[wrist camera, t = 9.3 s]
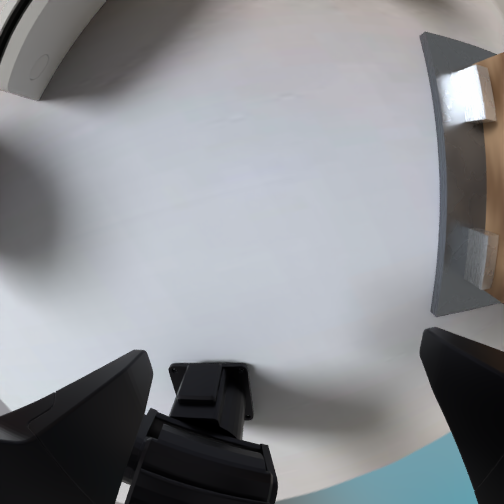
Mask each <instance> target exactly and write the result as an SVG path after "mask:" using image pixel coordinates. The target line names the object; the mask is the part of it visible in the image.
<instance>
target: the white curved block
mask: <svg viewBox="0 0 504 504" xmlns="http://www.w3.org/2000/svg"><path fill="white" fill-rule="evenodd" d="M106 1H107V0H8V1H7V3H6V4H5V6H4V8H3V9H2V11H1V13H0V90H1V91H5V92H8V93H11V94H15V95H18V96H21V97H25V98H28V99H32V100H36V101H39V99H40V98H41V96H42V94H43V92H44V90H45V88H46V87H47V85H48V83H49V81H50V80H51V78H52V76H53V74H54V73H55V71H56V69H57V68H58V66H59V65H60V63H61V61H62V60H63V58H64V57H65V55H66V54H67V52H68V51H69V49H70V48H71V46H72V45H73V43H74V42H75V41H76V39H77V38H78V36H79V35H80V34H81V32H82V31H83V30H84V28H85V27H86V26H87V24H88V23H89V22H90V20H91V19H92V18H93V17H94V15H95V14H96V13H97V12H98V10H99V9H100V8H101V7H102V6H103V4H104V3H105V2H106Z"/></svg>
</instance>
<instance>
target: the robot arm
mask: <svg viewBox="0 0 504 504" xmlns="http://www.w3.org/2000/svg"><path fill="white" fill-rule="evenodd" d="M420 358H421V360H422V363H423V366H424V368H425V371H426V374H427V376H428V379H429V382H430V385H431V388H432V390H433V393H434V395H435V397H436V399H437V401H438V403H439V406H440V408H441V410H442V412H443V414H444V416H445V419H446V421H447V423H448V425H449V428H450V430H451V432H452V434H453V437H454V439H455V442H456V444H457V446H458V449H459V452H460V454H461V457H462V459H463V462H464V464H465V467H466V469H467V472H468V475H469V477H470V480H471V483H472V486H473V489H474V490H475V491H474V492H475V495H476V498H477V501H478V504H504V352H503V351H500V350H497V349H495V348H492V347H489V346H486V345H484V344H481V343H478V342H475V341H473V340H470V339H467V338H465V337H462V336H459V335H456V334H454V333H451V332H448V331H445V330H443V329H440V328H437V327H432V328H427V329H425V330H424V332H423V337H422V341H421V346H420ZM174 369H176V370H177V371H176V370H174ZM239 369H243V370H239ZM169 373H170V377H171V380H172V383H173V386H174V390H175V393H176V398H175V401H174V403H173V406H172V409H171V412H170V414H169V416H166V415H164V414H161V413H159V412H157V410H155V409H152V408H150V410H149V412H148V413H147V415H145V414H144V413H145V409H146V405H147V401H148V396H149V392H150V387H151V383H152V379H153V370H152V366H151V363H150V360H149V357H148V354H147V352H146V351H145V350H132V351H131V352H129V353H127V354H125V355H123V356H121V357H120V358H118V359H116V360H114V361H112V362H110V363H109V364H107V365H105V366H103V367H101V368H99V369H97V370H96V371H94V372H92V373H90V374H88V375H86V376H84V377H82V378H81V379H79V380H77V381H75V382H73V383H71V384H69V385H67V386H65V387H63V388H62V389H60V390H58V391H56V393H55V392H54V393H52V394H50V395H48V396H46V397H44V398H42V399H40V400H38V401H36V402H34V403H31V404H29V405H27V406H24V407H22V408H20V409H17V410H15V411H12V412H10V413H7V414H5V415H2V416H0V504H115V501H116V498H117V495H118V492H119V488H120V485H121V482H124V483H126V484H129V485H131V486H130V489H129V492H128V495H127V498H126V501H125V504H274V503H275V501H276V496H277V490H278V481H277V476H276V473H275V469H274V465H273V462H272V458H271V454H270V451H269V447H268V445H265V444H260V445H259V444H255V443H251V442H247V441H243V440H242V437H243V426H244V420H252V419H253V416H254V413H253V405H252V398H251V390H250V382H249V374H248V367H247V366H246V365H245V364H243V363H229V364H219V363H208V364H197V363H190V364H177V363H174V364H171V365H170V367H169ZM247 415H249V416H247Z"/></svg>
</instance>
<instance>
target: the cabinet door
mask: <svg viewBox="0 0 504 504" xmlns="http://www.w3.org/2000/svg"><path fill="white" fill-rule="evenodd" d="M476 64H477V65H480V66H483V67H486V68H487V69H488V73H489V78H490V82H491V87H492V93H493V98H494V104H495V111H496V118H497V121H495V122H486V123H483V129H484V139H485V153H486V175H487V202H486V225H485V230H487V231H490V232H492V233H495V234H497V235H499V239H498V249H497V257H496V265H495V271H494V278H493V283H492V288H489V289H484V291H486V292H487V293H489V294H490V295H491V296H493V297H494V298H496V299H497V300H499V301H500V302H501V303H503V304H504V52H503V53H500V54H498V55H495V56H493V57H490V58H487V59H485V60H482V61H480V62H477V63H475V64H472V65H476Z"/></svg>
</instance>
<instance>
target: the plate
mask: <svg viewBox="0 0 504 504" xmlns="http://www.w3.org/2000/svg"><path fill="white" fill-rule="evenodd" d="M420 40H421V44H422V48H423V52H424V57H425V61H426V66H427V71H428V76H429V81H430V86H431V92H432V99H433V106H434V113H435V121H436V130H437V141H438V154H439V174H440V222H439V242H438V256H437V267H436V276H435V285H434V292H433V299H432V306H431V312H432V313H433V314H434V315H435V316H436V317H439V316H444V315H449V314H453V313H458V312H463V311H467V310H472V309H476V308H480V307H485V306H489V305H493V304H497V303H501V302H500V301H499V300H497V299H496V298H494V297H493V296H491V295H490V294H489V293H487V292H486V291H484V289H489V288H492V283H493V278H494V271H495V265H496V257H497V249H498V239H499V235H497V234H495V233H492V232H490V231H487V230H485V225H486V202H487V175H486V153H485V139H484V129H483V123H486V122H495V121H497V118H496V111H495V104H494V98H493V93H492V87H491V82H490V78H489V73H488V69H487V68H486V67H483V66H480V65H477V64H476V65H472V64H475V63H477V62H480V61H482V60H485V59H487V58H490V57H493V56H495V55H497V54H495V53H492V52H490V51H487V50H484V49H481V48H479V47H476V46H473V45H470V44H467V43H464V42H461V41H458V40H454V39H451V38H447V37H444V36H440V35H436V34H432V33H428V32H424V33H423V34H421V35H420Z"/></svg>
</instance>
